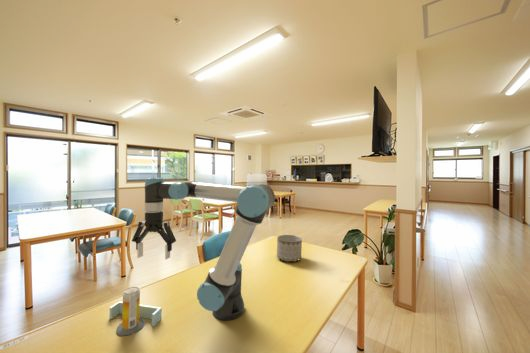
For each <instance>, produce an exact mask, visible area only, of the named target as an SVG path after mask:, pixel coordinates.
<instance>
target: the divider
mask: <svg viewBox="0 0 530 353" xmlns="http://www.w3.org/2000/svg"><path fill="white" fill-rule="evenodd" d="M162 308H163V307H162V306H153V305H146V304H140V306H139V318H142V319H143V318H144V319H151V326H152V327H154V326H156V325H157V324H158V323H159V322H160V321H161V320H162ZM122 311H123V301H121V300H119V301H118V302H116V303H114V304H113V305H111V306H110V307H109V315H108V316H109V317H108V318H109V320H112V319H114V318H115V317H116V316H118V315H119V314H120V315H122Z"/></svg>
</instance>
